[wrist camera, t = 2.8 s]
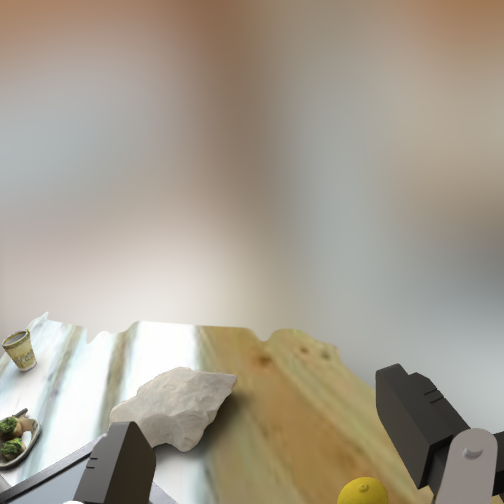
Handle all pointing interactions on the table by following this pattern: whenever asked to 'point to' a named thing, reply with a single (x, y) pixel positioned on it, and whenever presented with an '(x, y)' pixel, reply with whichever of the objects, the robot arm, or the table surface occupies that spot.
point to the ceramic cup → (20, 349)
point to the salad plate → (16, 439)
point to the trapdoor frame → (157, 500)
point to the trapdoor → (55, 488)
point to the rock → (176, 406)
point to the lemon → (363, 492)
